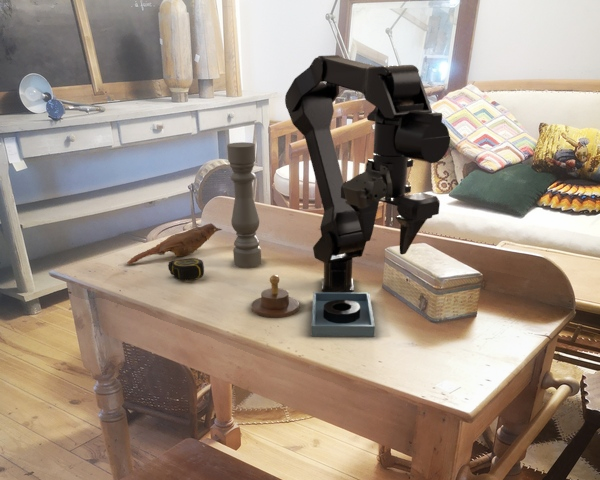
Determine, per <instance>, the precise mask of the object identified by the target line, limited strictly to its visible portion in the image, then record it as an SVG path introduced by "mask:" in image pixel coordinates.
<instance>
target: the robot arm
mask: <svg viewBox="0 0 600 480" xmlns="http://www.w3.org/2000/svg"><path fill="white" fill-rule="evenodd" d="M419 71H420V70H419V68H418V67H417V66H416V65H414V64H399V65H381V66H380V65H379V66H376V65H373V64H369V63H364V62H361V61H357V60H351V59H349V58H345V57H343V56H340V55H338V54H331V55H330V54H329V55H327V54H326V55H318V56H317V57H315V58H314V59H313V60H312V62H311V64H310V65H309V66H308V68H306V69H305V70H303V71H302V72H301V73H300V74H299V75H297V76H296V77H295V78H294V79H293V81H292V83H291V84H290V86H289V87H288V90H287V91H286V93H285V98H284V104H285V108H286V109H287V112H288V115H289V117H290V120H291V123H292V125H293V126H294V127H295V128H296V129H297V130H298V131H299V132H300V133H301V134H302V135H303V137H304V139H305V143H306V147H307V151H308V155H309V158H310V162H311V167H312V171H313V173H314V178H315V182H316V185H317V189H318V193H319V196H320V200H321V205H322V208H323V215H322V219H321V222H320V226H319V228H320V234H321V235H320V237H319V238H318V240H317V241H316V242H315V244H314V245H313V247H312V251H313V257H314V259H316V260H317V261H320V262H322V263H323V278H321V292H355V286H354V279H353V259H354V258H360V257H363V254H364V251H365V248H366V244H367V242H370V241H371V238H372V235H373V231H374V228H375V223H376V218H377V214H378V209H379V205H380V202H381V203H385V204H388V205H392V206H396V211H397V213H398V216H395V219H396V220H397V222H398V223H399V225H400V230H399V254H400V255H402V256H403V255H405V254H407V252H408V251H409V249H410V247H411V245H412V243H413V242H414V240H415V238H416V236H417V235H418V234H419V232H420V230H421V229H422V227H423V226H424V224H425V223H426V222H427V220H429V219H432V218H433V216H436V215H439V212H440V205H441V202H440V199H439V198H438V197H437V195H432V194H428V193H424V192H417V193H412V194H409V193H411V191H412V185H409V184H407V177H408V168H412V167H414V160H416V161H421V162H424V163H428V164H436V163H438V162H440V161H441V160H442V159H443V158H444V157H445V156H446V154H447V152H448V151H449V148H450V143H451V136H450V131H449V128H448V127H447V124H445V123H444V122H443V113H442V112H433V110H432V106H431V102H430V100H429V97H428V96H427V93H426V90H425V86H424V84H423V81H422V78H421V76H420V73H419ZM340 87H341V88H345V89H348V90H351V91H355V92H358V93H360V94H362V95H363V96H364V99H365V101H366V102H367V103H369V104H371V105H373V106H374V109H373V110H372V111H370V113H368V115H367V116H366V120H367V121H370V122H374V133H373V134H374V135H373V152H372V158H371V159H367V162H366V163H365V169H364V171H363V172H362V173H361V172H360V173H359V174H357V175H355V176H354V177H352V178H351V179H349V180H345V181H344V178H343V174H342V171H341V167H340V163H339V159H338V158H339V157H338V155H337V151H336V147H335V143H334V139H333V135H332V132H331V124H332V120H333V116H334V113H335V110H334V109H335V108H334V102H335V100H336V99H337V97H338V96H339V94H340ZM406 194H407V195H406Z"/></svg>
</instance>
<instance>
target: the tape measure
mask: <svg viewBox="0 0 600 480" xmlns="http://www.w3.org/2000/svg"><path fill="white" fill-rule="evenodd" d="M167 266H168V271H169V273H170V275H172V276H173V277H174V279H176V280H179V281H188V282H191V281H196V280H198V279H200V278H203V276H204V275H205V266H204V261H203V260H202V259H200V258H198V257H197V258H196V257H187V258H180V259H174V260H170V261H169V262H168V264H167Z"/></svg>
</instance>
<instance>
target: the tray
mask: <svg viewBox="0 0 600 480" xmlns="http://www.w3.org/2000/svg"><path fill="white" fill-rule="evenodd" d="M333 300H349V301H354V302H356V303H357V304H359V305H360V318H359V319H358V320H356V321H355V322H351V323H334V322H329V321H327V320H326V319H325V318H324V317H323V306H324V304H325V303H327V302H329V301H333ZM375 332H376V324H375V318H374V312H373V305H372V301H371V293H370V292H366V291H365V292H364V291H363V292H361V291H359V292H355V291H354V292H322V291H321V292H320V291H319V292H317V291H313V292H312V307H311V337H339V338H340V337H344V338H345V337H347V338H348V337H350V338H351V337H352V338H354V337H356V338H358V337H359V338H362V337H363V338H367V337H368V338H375Z"/></svg>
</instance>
